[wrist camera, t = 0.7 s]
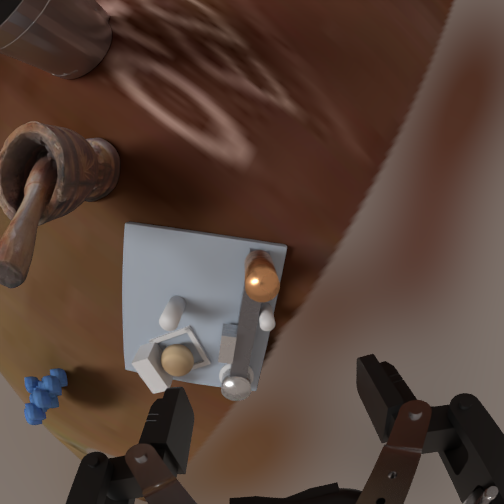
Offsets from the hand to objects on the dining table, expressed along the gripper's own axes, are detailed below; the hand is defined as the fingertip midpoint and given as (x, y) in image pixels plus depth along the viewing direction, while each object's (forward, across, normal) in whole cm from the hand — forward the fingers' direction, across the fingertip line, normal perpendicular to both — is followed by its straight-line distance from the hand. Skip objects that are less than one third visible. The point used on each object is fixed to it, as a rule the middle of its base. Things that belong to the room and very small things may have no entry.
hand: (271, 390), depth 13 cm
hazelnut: (+21, +11, +10) cm, 26 cm away
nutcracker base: (+22, +8, +6) cm, 24 cm away
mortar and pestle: (+22, +16, -12) cm, 30 cm away
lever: (+20, +3, +7) cm, 22 cm away
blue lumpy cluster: (+22, +34, +13) cm, 43 cm away
